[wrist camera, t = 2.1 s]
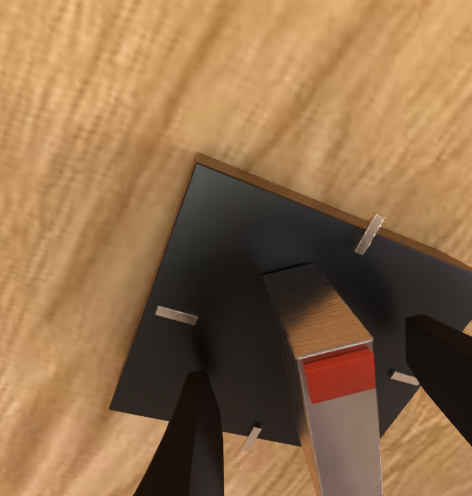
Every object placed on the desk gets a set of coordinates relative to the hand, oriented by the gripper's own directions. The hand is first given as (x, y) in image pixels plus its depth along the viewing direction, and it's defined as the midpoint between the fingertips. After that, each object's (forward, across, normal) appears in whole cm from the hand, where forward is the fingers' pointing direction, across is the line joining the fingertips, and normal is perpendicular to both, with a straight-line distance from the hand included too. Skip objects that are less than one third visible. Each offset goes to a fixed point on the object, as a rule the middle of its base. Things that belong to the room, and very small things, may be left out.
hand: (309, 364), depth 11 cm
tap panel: (+4, 0, 0) cm, 4 cm away
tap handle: (+1, 0, 0) cm, 1 cm away
